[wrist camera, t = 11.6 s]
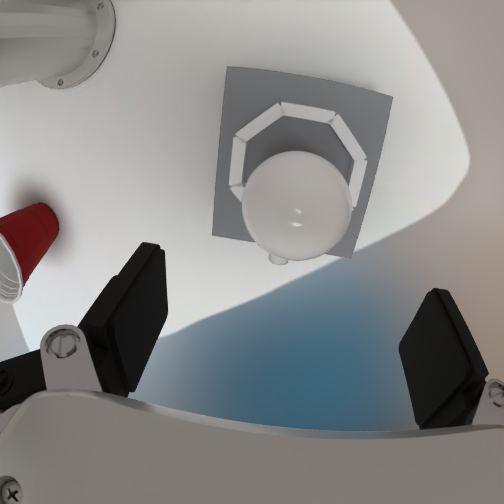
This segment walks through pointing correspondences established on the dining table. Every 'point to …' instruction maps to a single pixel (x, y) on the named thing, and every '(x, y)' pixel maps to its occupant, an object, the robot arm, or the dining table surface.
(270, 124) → the octagon ring base plate
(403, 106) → the dining table surface
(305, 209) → the lightbulb
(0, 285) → the plastic cup
